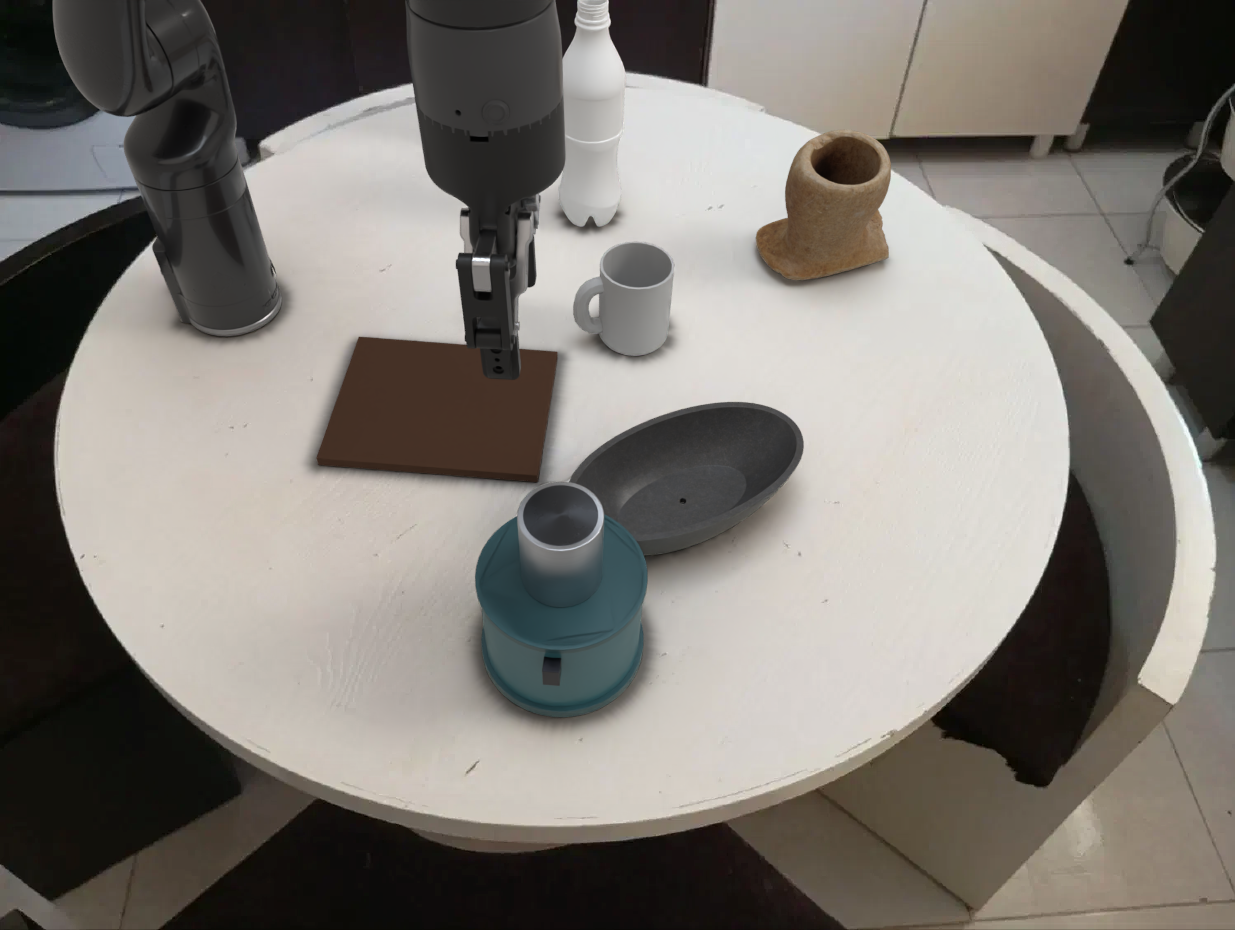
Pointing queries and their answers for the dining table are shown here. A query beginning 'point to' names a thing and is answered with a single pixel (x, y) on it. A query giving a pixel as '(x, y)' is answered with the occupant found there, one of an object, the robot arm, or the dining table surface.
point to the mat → (439, 412)
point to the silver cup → (561, 543)
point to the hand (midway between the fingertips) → (511, 327)
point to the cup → (629, 298)
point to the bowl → (692, 471)
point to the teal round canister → (562, 628)
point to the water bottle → (592, 118)
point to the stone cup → (830, 208)
